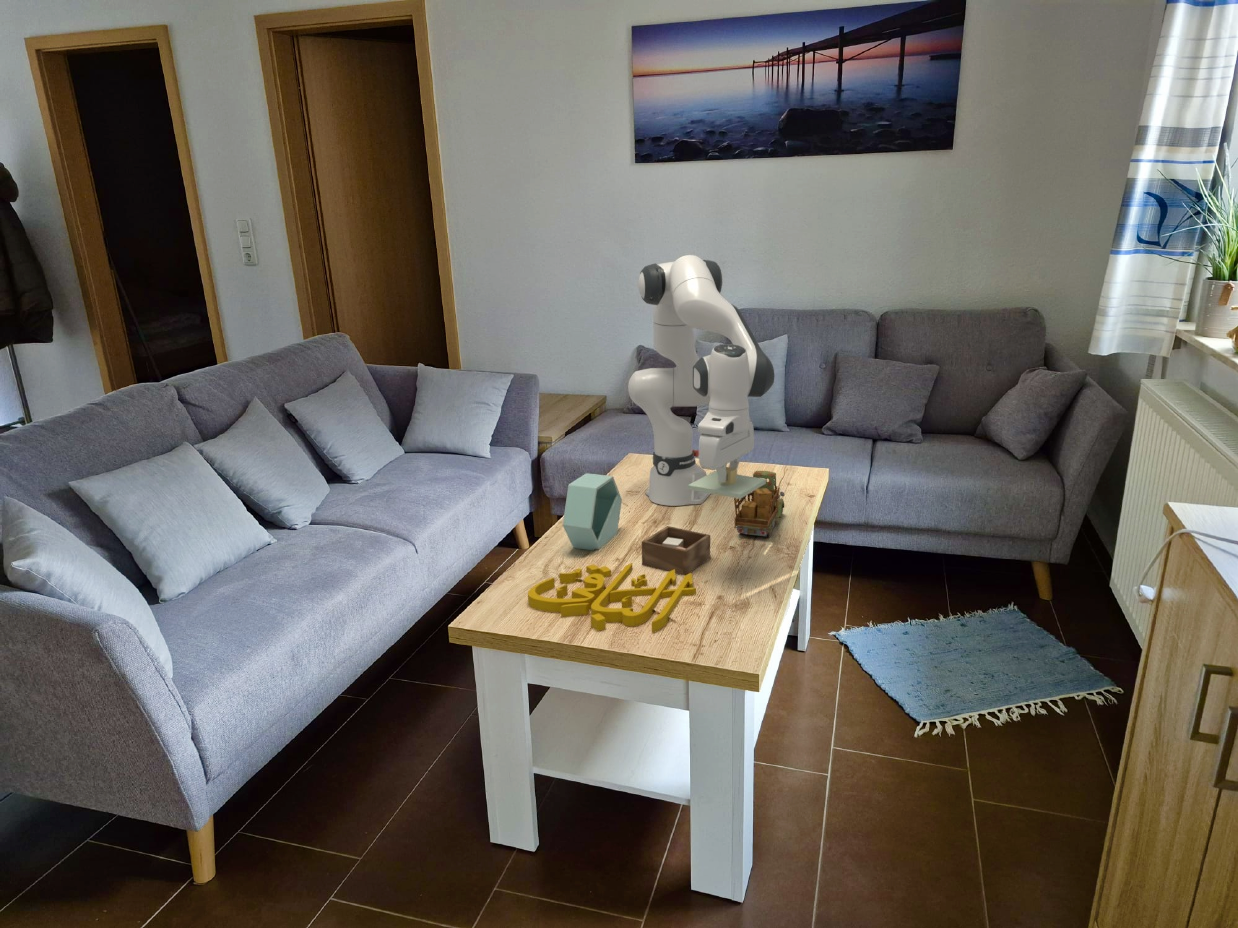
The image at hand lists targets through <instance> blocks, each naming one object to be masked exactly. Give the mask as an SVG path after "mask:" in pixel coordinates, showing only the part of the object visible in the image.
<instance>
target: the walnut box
mask: <svg viewBox="0 0 1238 928" xmlns="http://www.w3.org/2000/svg"><path fill="white" fill-rule="evenodd" d="M668 537H669V538H676V539H683V548H685V550H683V549H679V548H674V547H670V546H666V545H662V543H663V542H664V541H665V540H666V539H667V538H668ZM710 559H711V534H706V533H702V532H698V531H692V530H689V529H683V528H680V527H679V528H678V527H674V526H669V525H666V526H665V527H662V529H660V530H659V531H657V532H655V533H653V534H652V535H650V536H648V537H646V538H645V539H644V540H642V541H641V565H642V566H644V567H647V568H653V569H655V570H656V569H657V570H660V571H665V572H667V573H668V572H669V571H672V570H674V569H675V575H676V574H677V575H681V576H683V577H684V576H685V575H687V574H690V573H692V572H694V570H696V569H698V568H699V567H700V566H702V565H703V564H704V563H706V562H707V561H708V560H710Z"/></svg>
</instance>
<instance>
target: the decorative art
mask: <svg viewBox="0 0 1238 928" xmlns="http://www.w3.org/2000/svg"><path fill="white" fill-rule="evenodd" d="M585 569H586V573H588V575H587V576H585V577H584V579H583V585H584V587H583V588H582V587H577V588H575V589H573V590H571V598H564V597H566V596H567V595H568V594H569V592H568V590H569V589H568V584H574V583H580V582H582V579H581V578H582V576H583V569H582V568H575V569H574V570H573V571H572V572H571V571H570V572H559V583H560V584H562V585H561V586H558V588H556V587H555V586H556V585H555V584H556V583H555V582H556V581H555V577H551V578H547V579H545V580H543V581H540V582H538V583H536V584H535V585H534V586H532V587H530V589H529V590H528V591H527V600H528V602H527V604H528V606H529V607H530V608H531V609H534V610H538V611H541V612H546V611H547V613H557V614H558V613H559V614H560V617H561V618H566V617H574V616H575V617H576V616H587V615H590V612H591V615H590V626H591V627H592V628H593V629H594V630H596V632H601V631H604V630H606V629H607V627H606V626H607V625H606V623H621V624H622V625H623V626H626V627H638V626H640V625H642V624H644V623H646V622H647V621H649V619H650V618H651V617H652V616H653V614H654V612H655V611H656V610H655V607H656V606H657V604H658V603H659V601H660V600H661V599H666V598H669V599H668V601H666V604H665V605H664V607H663V608H662V609H661V611H660V613H659V614H658V615H657V616H656V617H655V619H653V621H651V633H652V632H653V633H655V631H656V632H658V631H660V630H662V629H663V628H664V627H665V626H666V625H667V624H668V622H669V620H670V619H671V617H670V615H671V613H672V612H673V611H674V608H676V606H677V604H678V603H679V601H680V600H681V599H682V597H684V596H687V597H688V596H695V595H696V594H697V587H693V583H694V582H693V574H692V572H691V573H689V574H687V575H685V576H684V575H683V579H682V580H681V582H680V583H679V585H678V586H677V587H676V588H673V589H670V588H669V587H670V586H671V585H672V587H675V586H676V579H677V578H676V573H675V569H674V570H672V571H669V572H668V571H667V573H666V575H665V577H663V579H662V581H661V582H660V584H659V585H658V586H657V587H654V586H653V587H647V586H648V579H647V578H646V574H645V573H644V574H640V575H638V576H637V577H636V578H635V577H634V578H633V577H632V578H631V582H630V583H631V584H630V585H631V587H634V588H625V589H618V588H619V587H620V586H621V585H622V583H624V581H625V580H626V579H627V577H628V576H629V575H630V574H631V573H632V571H633V562H630V563H628V564H627V565H625V566H624V567H623V568H622V570H621V572H620V573H619V574H618V575H617V576H616V577H615V578H614V579H613V580H612V581H611V583H609V585H608V586H607V587H606V588H605V578H608V577H612V569H611V568H609V567H607V566H605V565H604V566H601V567H599V566H597V565H595V564H593V563H592V564H589V565H587V566H585ZM563 584H564V585H563ZM555 588H556V598H555V597H554V598H553V597H548V596H547V597H545V596H542V594H544V593H547V592H549V591H551V590H553V589H555ZM640 596H641V597H643V596H650V598H648V600H647V602H645V604H644V605H643V607H642V608H641V610H639V611H634V607H632V606H633V597H640ZM619 602H621V607H615V608H614V607H607V606H608V605H609V604H610V603H611V604H612V603H619ZM661 628H662V629H661ZM659 629H660V630H659Z"/></svg>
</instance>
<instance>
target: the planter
mask: <svg viewBox="0 0 1238 928" xmlns="http://www.w3.org/2000/svg"><path fill="white" fill-rule="evenodd" d="M616 483H617V482H616V480H615V477H614V476H613V475H604V474H597V473H588V472H586V473H584V474H583V475H581V476H579V477H578V478H577V479H575V480H573V481H571V483H569V484H568V485H567V491H566V492H567V494H566V501H565V506H564V514H563V519H562V527H563V529H564V532H565V533H566V536H567V538H568V539H569V542H570V543H571V546H572V548H573V549H580V550H586V551H595V550H600V549H602V548H603V547H604V546H605V545H606V544H607V543H609V542H610V541H611V540H612V539H613V538H614V537H616V536H617V535H618V531H619V530H618V529H619V523H620V515H621V510H622V509H621V508H622V503H623V500H622V497H621V494H620V491H619V489H618V488H619V487H618V486H617V484H616Z"/></svg>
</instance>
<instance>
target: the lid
mask: <svg viewBox="0 0 1238 928" xmlns="http://www.w3.org/2000/svg"><path fill="white" fill-rule="evenodd" d="M725 470H726V474H728V481H726V482H724V483H722V482H719V481H718V473H717V471H716V470H713V471H712V472H711V473H708V474H706V476H705V477H703V478H701V479H699V480H697V481H695V482H693V483H691V484H689V485H688V489H689V490H694V491H700V492H705V493H711V494H710V495H718V496H723V497H729V498H733V499H734V498H736V499H737V498H739V500H740V499H741V498H743V497H744V496H746V497H747V495H748V494H749V493H751V492H753V491H754V490H756V489H758V488H759V487H761V486H762V485H764V484H766V479H764V478H756V477H753V476H749V475H745V474H738V468H737V469H735V468H729V466H727V467H726V468H725Z"/></svg>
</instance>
